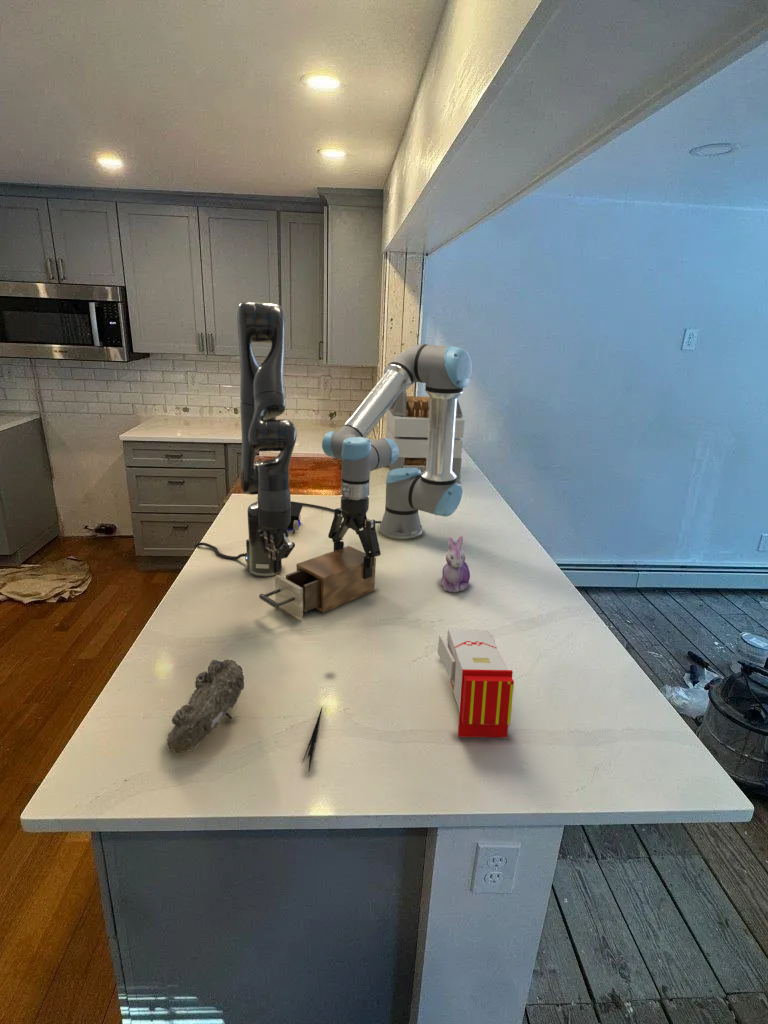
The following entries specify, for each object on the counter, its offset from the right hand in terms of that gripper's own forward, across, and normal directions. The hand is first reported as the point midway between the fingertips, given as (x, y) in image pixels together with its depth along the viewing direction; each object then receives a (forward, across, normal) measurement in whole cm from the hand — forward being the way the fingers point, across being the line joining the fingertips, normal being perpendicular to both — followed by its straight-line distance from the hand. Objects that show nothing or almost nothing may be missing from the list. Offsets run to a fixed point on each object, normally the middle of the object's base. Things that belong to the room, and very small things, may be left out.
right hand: (352, 570), depth 159 cm
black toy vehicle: (+5, -46, +14) cm, 48 cm away
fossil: (+5, +21, -56) cm, 60 cm away
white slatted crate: (+5, -65, +106) cm, 124 cm away
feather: (+5, +36, -42) cm, 55 cm away
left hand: (-8, 0, -26) cm, 27 cm away
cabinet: (+5, 0, -6) cm, 8 cm away
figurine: (+5, +19, +23) cm, 30 cm away
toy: (+5, +51, -14) cm, 53 cm away
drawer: (+4, 0, -17) cm, 17 cm away
